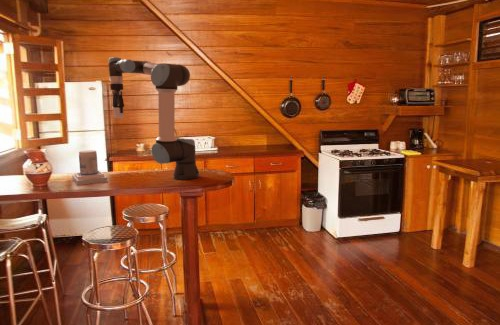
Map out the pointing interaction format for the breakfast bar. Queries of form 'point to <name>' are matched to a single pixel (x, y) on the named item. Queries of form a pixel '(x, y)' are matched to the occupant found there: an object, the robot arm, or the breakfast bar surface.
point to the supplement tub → (88, 163)
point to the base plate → (89, 178)
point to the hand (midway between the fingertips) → (119, 118)
